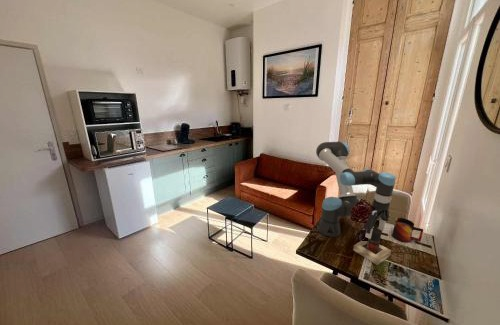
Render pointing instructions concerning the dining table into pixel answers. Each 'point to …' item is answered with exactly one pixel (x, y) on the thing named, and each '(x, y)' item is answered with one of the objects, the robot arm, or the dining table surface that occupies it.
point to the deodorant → (374, 241)
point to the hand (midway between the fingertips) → (374, 233)
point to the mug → (405, 230)
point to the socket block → (374, 258)
